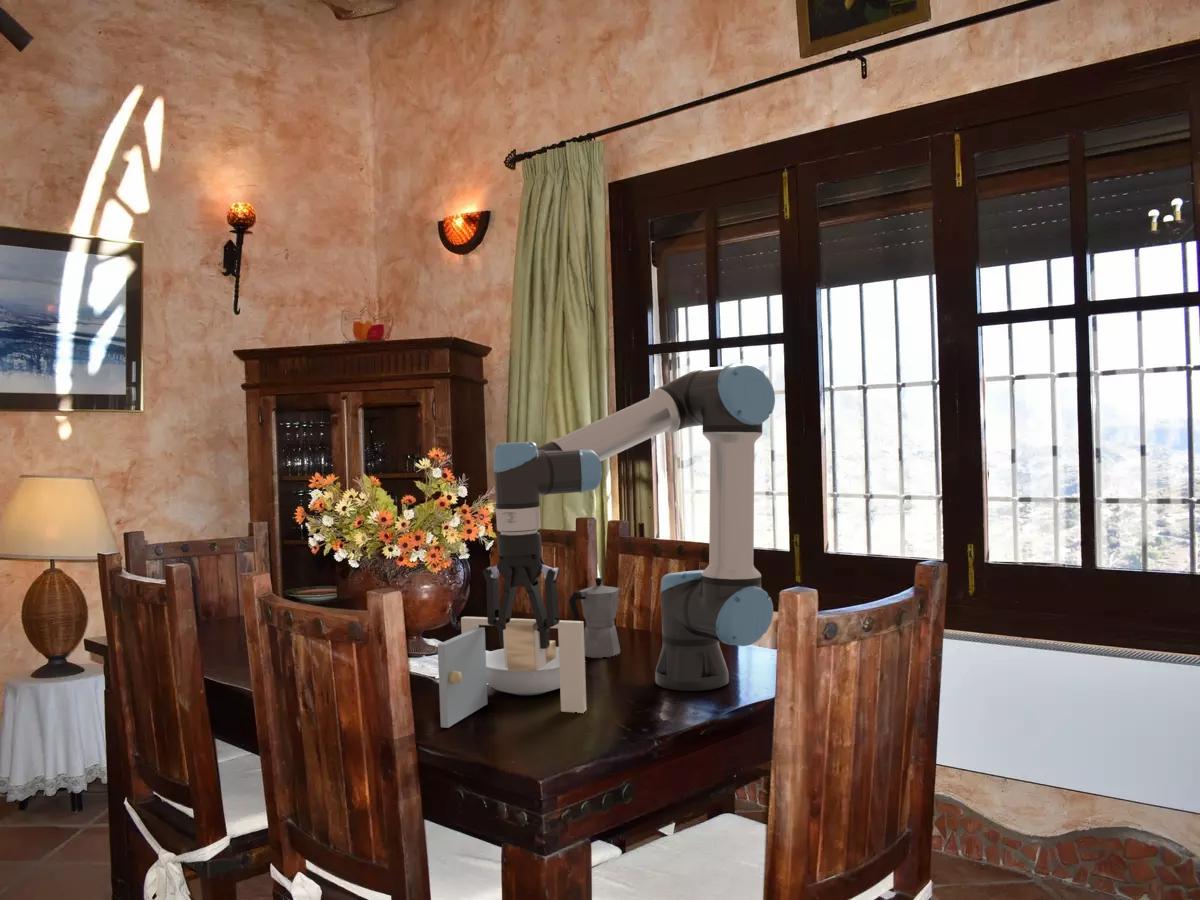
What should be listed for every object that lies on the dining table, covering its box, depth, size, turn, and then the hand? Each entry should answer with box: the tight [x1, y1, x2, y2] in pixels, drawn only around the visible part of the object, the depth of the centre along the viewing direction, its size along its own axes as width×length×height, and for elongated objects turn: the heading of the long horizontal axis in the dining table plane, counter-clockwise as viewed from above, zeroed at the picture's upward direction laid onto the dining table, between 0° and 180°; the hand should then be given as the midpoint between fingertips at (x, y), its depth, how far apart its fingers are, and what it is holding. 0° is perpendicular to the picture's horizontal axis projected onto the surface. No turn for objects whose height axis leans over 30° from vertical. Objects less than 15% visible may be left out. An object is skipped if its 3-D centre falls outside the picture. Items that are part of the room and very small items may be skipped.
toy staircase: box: [506, 620, 557, 671], centre depth 171 cm, size 10×5×8 cm, turn 161°
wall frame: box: [460, 616, 587, 714], centre depth 188 cm, size 25×2×17 cm, turn 70°
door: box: [437, 626, 488, 729], centre depth 183 cm, size 16×3×15 cm, turn 160°
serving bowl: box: [486, 646, 560, 696], centre depth 201 cm, size 21×21×7 cm
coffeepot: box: [568, 577, 622, 659], centre depth 230 cm, size 15×9×18 cm, turn 129°
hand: (525, 666), depth 168 cm, fingers closed on toy staircase, 5 cm apart
